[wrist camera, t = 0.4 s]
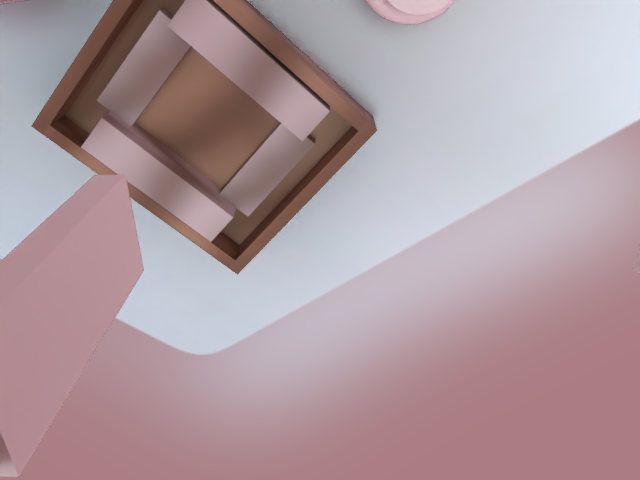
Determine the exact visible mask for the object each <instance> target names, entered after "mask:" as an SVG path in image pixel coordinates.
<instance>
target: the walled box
mask: <svg viewBox="0 0 640 480" xmlns="http://www.w3.org/2000/svg"><path fill="white" fill-rule="evenodd" d="M32 127H33V128H35V129H36V130H38V131H39V132H40V133H42V134H43V135H45V136H46V137H47V138H49V139H50V140H51V141H53V142H54V143H56V144H57V145H58V146H60V147H61V148H63V149H64V150H65V151H67V152H68V153H70V154H71V155H72V156H74V157H75V158H77V159H78V160H79V161H81V162H82V163H83V164H85V165H86V166H88V167H89V168H90V169H92V170H93V171H95V172H96V173H97V174H99V175H126V180H127V185H128V191H129V196H130V197H131V198H132V199H134V200H135V201H136V202H138V203H139V204H140V205H142V206H143V207H145V208H146V209H147V210H149V211H150V212H152V213H153V214H154V215H156V216H157V217H159V218H160V219H161V220H163V221H164V222H165V223H167V224H168V225H170V226H171V227H172V228H174V229H175V230H177V231H178V232H179V233H181V234H182V235H184V236H185V237H186V238H188V239H189V240H191V241H192V242H193V243H195V244H196V245H197V246H199V247H200V248H202V249H203V250H204V251H206V252H207V253H209V254H210V255H211V256H213V257H214V258H216V259H217V260H218V261H220V262H221V263H222V264H224V265H225V266H227V267H228V268H229V269H231V270H232V271H234V272H235V273H236V274H238V273H239V272H240V271H241V270H242V269H243V268H244V267H245V266H246V265H247V264H248V263H249V262H250V261H251V260H252V259H253V258H254V257H255V256H256V255H257V254H258V253H259V252H260V251H261V250H262V249H263V248H264V247H265V245H266V244H267V243H268V242H269V241H270V240H271V239H272V238H273V237H274V236H275V235H276V234H277V233H278V232H279V231H280V230H281V229H282V228H283V227H284V226H285V225H286V224H287V223H288V222H289V221H290V220H291V219H292V218H293V217H294V216H295V215H296V213H297V212H298V211H299V210H300V209H301V208H302V207H303V206H304V205H305V204H306V203H307V202H308V201H309V200H310V199H311V198H312V197H313V196H314V195H315V194H316V193H317V192H318V191H319V190H320V189H321V188H322V187H323V186H324V185H325V184H326V182H327V181H328V180H329V179H330V178H331V177H332V176H333V175H334V174H335V173H336V172H337V171H338V170H339V169H340V168H341V167H342V166H343V165H344V164H345V163H346V162H347V161H348V160H349V159H350V158H351V157H352V156H353V155H354V154H355V153H356V152H357V150H358V149H359V148H360V147H361V146H362V145H363V144H364V143H365V142H366V141H367V140H368V139H369V138H370V137H371V136H372V135H373V134H374V133H375V132H376V131H377V129H376V125H375V122H374V118H373V117H372V116H371V115H370V114H369V113H368V112H367V111H366V110H365V109H364V108H363V107H362V106H361V105H359V104H358V103H357V102H356V101H355V100H354V99H353V98H352V97H351V96H350V95H349V94H348V93H346V92H345V91H344V90H343V89H342V88H341V87H340V86H339V85H338V84H337V83H336V82H335V81H333V80H332V79H331V78H330V77H329V76H328V75H327V74H326V73H325V72H324V71H323V70H322V69H320V68H319V67H318V66H317V65H316V64H315V63H314V62H313V61H312V60H311V59H310V58H309V57H307V56H306V55H305V54H304V53H303V52H302V51H301V50H300V49H299V48H298V47H297V46H296V45H294V44H293V43H292V42H291V41H290V40H289V39H288V38H287V37H286V36H285V35H284V34H283V33H281V32H280V31H279V30H278V29H277V28H276V27H275V26H274V25H273V24H272V23H271V22H270V21H268V20H267V19H266V18H265V17H264V16H263V15H262V14H261V13H260V12H259V11H258V10H256V9H255V8H254V7H253V6H252V5H251V4H250V3H249V2H248V1H247V0H113V2H112V3H111V5H110V7H109V8H108V10H107V11H106V13H105V14H104V16H103V17H102V19H101V20H100V22H99V23H98V25H97V26H96V28H95V30H94V31H93V33H92V34H91V36H90V37H89V39H88V40H87V42H86V43H85V45H84V46H83V48H82V49H81V51H80V53H79V54H78V56H77V57H76V59H75V60H74V62H73V63H72V65H71V66H70V68H69V69H68V71H67V72H66V74H65V76H64V77H63V79H62V80H61V82H60V83H59V85H58V86H57V88H56V89H55V91H54V92H53V94H52V95H51V97H50V99H49V100H48V102H47V103H46V105H45V106H44V108H43V109H42V111H41V112H40V114H39V115H38V117H37V118H36V120H35V122H34V123H33V125H32Z"/></svg>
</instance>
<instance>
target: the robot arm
mask: <svg viewBox="0 0 640 480" xmlns="http://www.w3.org/2000/svg"><path fill="white" fill-rule="evenodd" d="M633 268H634V269H635V270H636V271H637V272H638V273H639V275H640V246H639V250H638V253H637V256H636V260H635V263H634V267H633ZM143 271H144V267H143V262H142V257H141V252H140V247H139V242H138V237H137V231H136V226H135V221H134V216H133V211H132V206H131V201H130V196H129V191H128V185H127V180H126V175H94V176H93V177H92V178H91V179H90V180H89V181H88V182H87V183H86V184H85V185H83V186H82V187H81V188H80V189H79V190H78V191H77V192H76V193H75V194H74V195H73V196H71V197H70V198H69V199H68V200H67V201H66V202H65V203H64V204H63V205H62V206H60V207H59V208H58V209H57V210H56V211H55V212H54V213H53V214H52V215H51V216H49V217H48V218H47V219H46V220H45V221H44V222H43V223H42V224H41V225H40V226H39V227H37V228H36V229H35V230H34V231H33V232H32V233H31V234H30V235H29V236H28V237H26V238H25V239H24V240H23V241H22V242H21V243H20V244H19V245H18V246H17V247H16V248H14V249H13V250H12V251H11V252H10V253H9V254H8V255H7V256H6V257H5V258H3V259H2V260H1V261H0V477H19V475H20V473H21V472H22V470H23V469H24V467H25V465H26V464H27V462H28V460H29V459H30V457H31V455H32V454H33V452H34V450H35V449H36V447H37V445H38V444H39V442H40V440H41V439H42V437H43V436H44V434H45V432H46V431H47V429H48V427H49V426H50V424H51V422H52V421H53V419H54V417H55V416H56V414H57V412H58V411H59V409H60V407H61V406H62V404H63V403H64V401H65V399H66V398H67V396H68V394H69V393H70V391H71V389H72V388H73V386H74V384H75V383H76V381H77V380H78V378H79V376H80V374H81V373H82V371H83V369H84V368H85V366H86V365H87V363H88V361H89V360H90V358H91V356H92V355H93V353H94V352H95V350H96V348H97V347H98V345H99V343H100V341H101V340H102V338H103V337H104V335H105V333H106V332H107V330H108V328H109V327H110V325H111V323H112V322H113V320H114V319H115V317H116V315H117V314H118V312H119V310H120V309H121V307H122V305H123V304H124V302H125V300H126V299H127V297H128V295H129V294H130V292H131V291H132V289H133V287H134V286H135V284H136V282H137V281H138V279H139V277H140V276H141V274H142V272H143Z"/></svg>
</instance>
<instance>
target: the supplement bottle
mask: <svg viewBox="0 0 640 480" xmlns="http://www.w3.org/2000/svg"><path fill="white" fill-rule="evenodd" d="M365 1H366V2H367V4H368V5H369V6H370V7H371V8H372V9H373V10H374V11H375V12H376V13H377V14H378V15H380V16H381V17H383V18H385V19H387V20H389V21H392V22H395V23H399V24H419V23H423V22H426V21H429V20H431V19H433V18H435V17H437V16H439V15H440V14H442V13H443V12H444V11H446V10H447V9H448V8H449V7H450V6H451V5H452V4H453V2H454V1H455V0H365Z"/></svg>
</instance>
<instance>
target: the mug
mask: <svg viewBox="0 0 640 480" xmlns="http://www.w3.org/2000/svg"><path fill="white" fill-rule="evenodd" d="M19 1H28V0H0V4H4V3H11V2H19Z"/></svg>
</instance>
